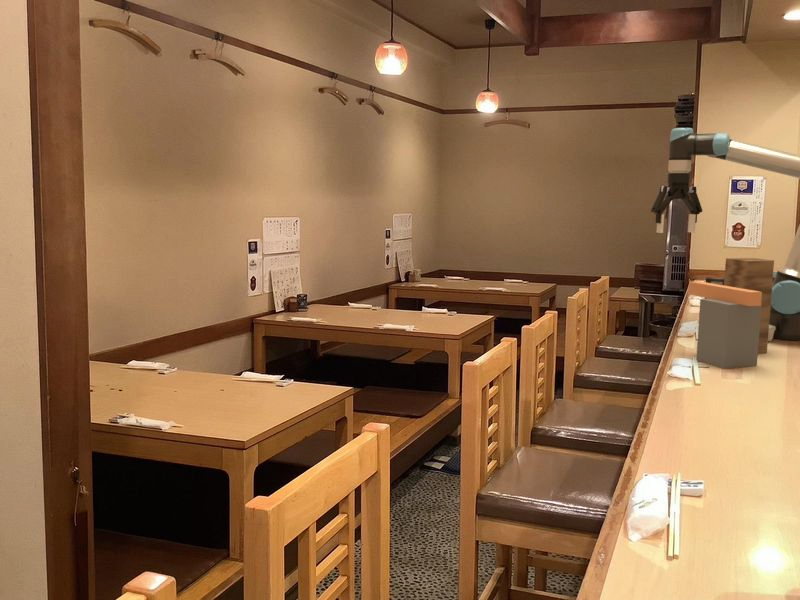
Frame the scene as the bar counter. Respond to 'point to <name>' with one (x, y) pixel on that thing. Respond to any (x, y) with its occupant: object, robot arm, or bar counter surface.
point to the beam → (726, 293)
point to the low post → (728, 334)
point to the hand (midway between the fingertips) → (675, 232)
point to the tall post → (753, 287)
